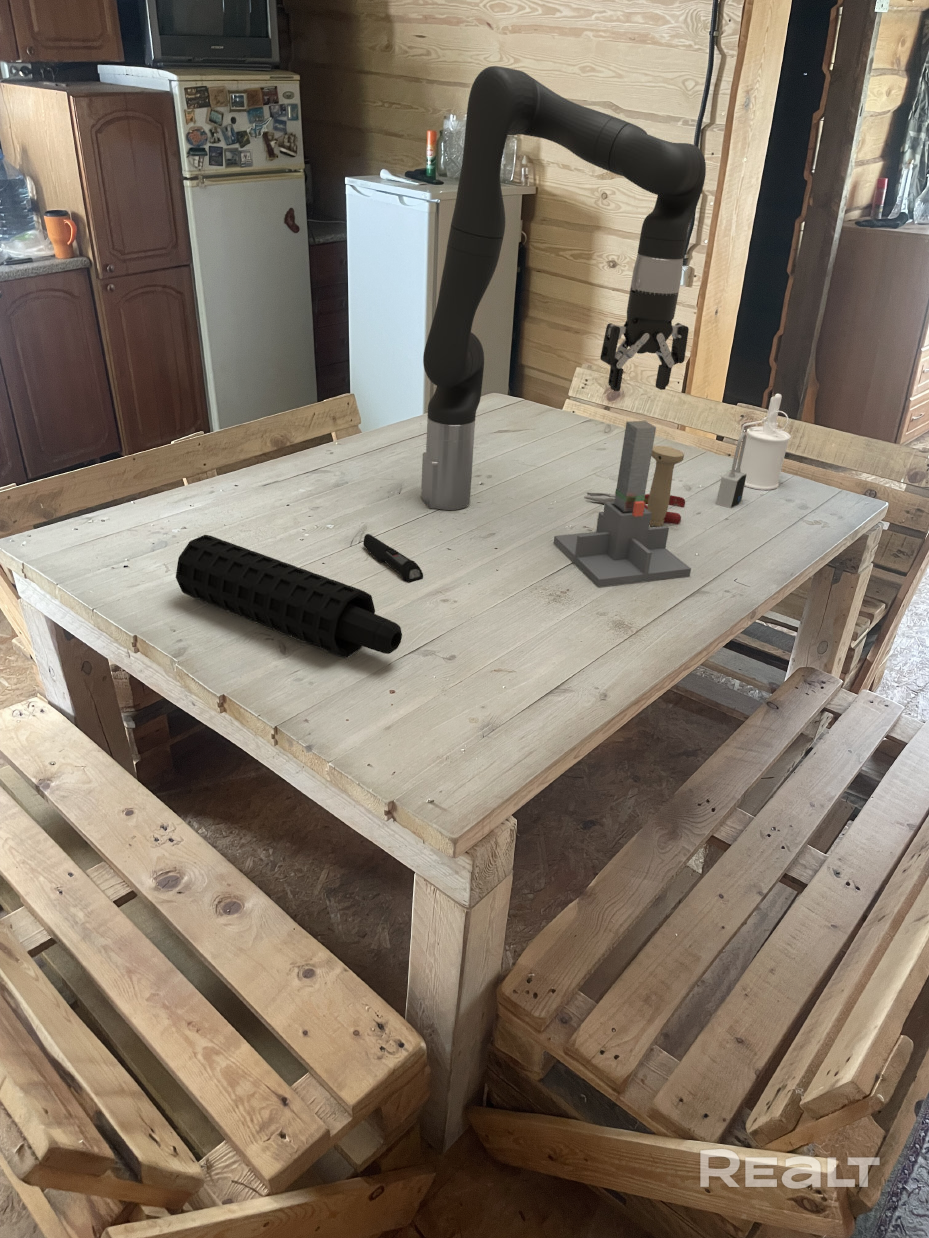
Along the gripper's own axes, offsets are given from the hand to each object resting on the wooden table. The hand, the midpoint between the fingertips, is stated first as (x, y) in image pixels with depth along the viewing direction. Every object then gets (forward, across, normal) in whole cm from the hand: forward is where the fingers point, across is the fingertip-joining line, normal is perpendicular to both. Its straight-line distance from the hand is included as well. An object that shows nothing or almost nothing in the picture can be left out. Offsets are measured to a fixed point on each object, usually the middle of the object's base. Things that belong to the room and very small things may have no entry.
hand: (637, 389), depth 149 cm
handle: (+30, -15, -10) cm, 36 cm away
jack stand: (+30, -1, +2) cm, 30 cm away
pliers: (+31, -17, -20) cm, 41 cm away
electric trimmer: (+31, +40, -5) cm, 51 cm away
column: (+22, -1, +2) cm, 22 cm away
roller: (+31, +60, +13) cm, 69 cm away
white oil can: (+30, -51, -27) cm, 65 cm away
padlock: (+30, -38, -18) cm, 52 cm away
